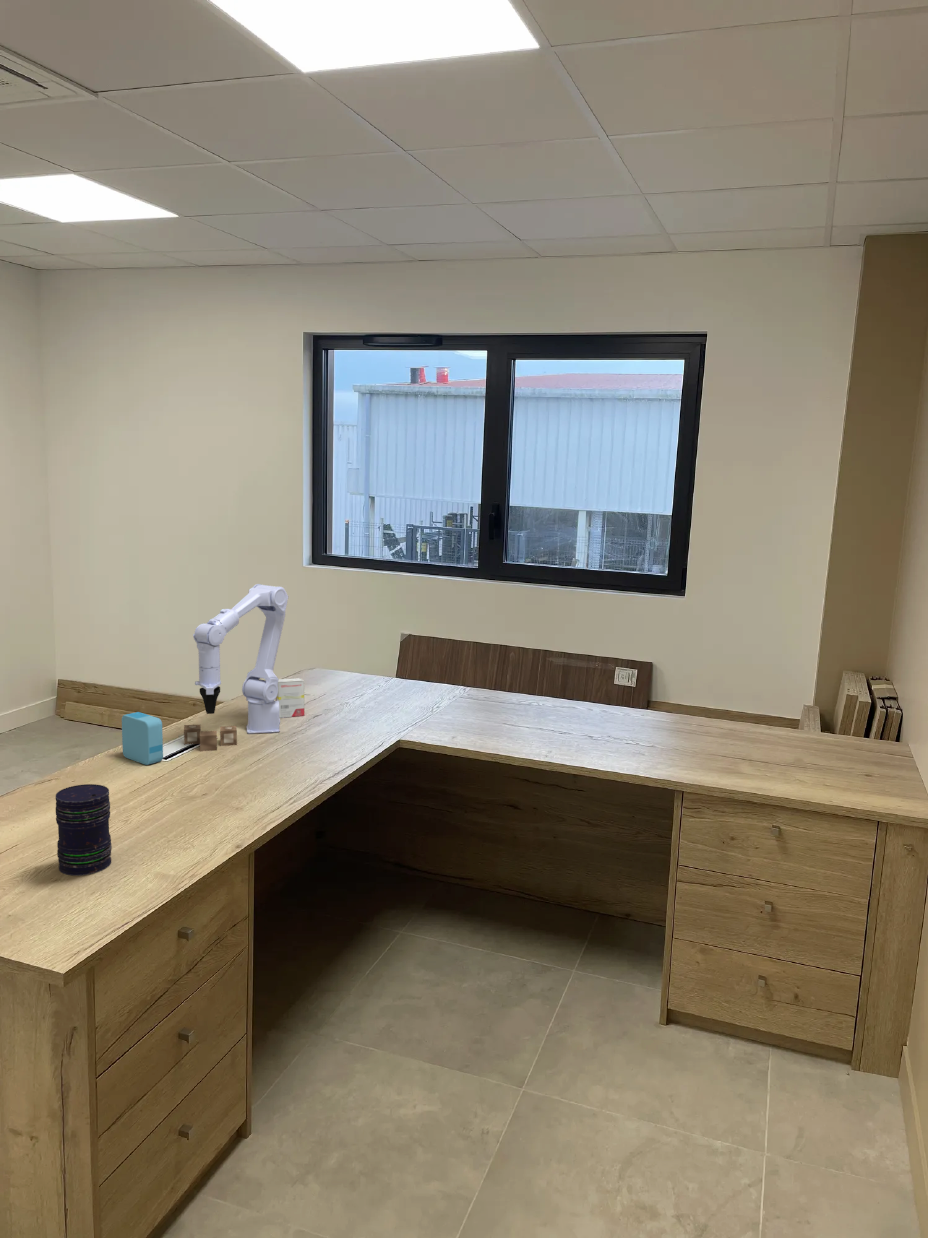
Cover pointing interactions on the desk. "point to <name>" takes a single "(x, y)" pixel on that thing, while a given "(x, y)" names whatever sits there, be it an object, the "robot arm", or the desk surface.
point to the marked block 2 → (228, 735)
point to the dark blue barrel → (83, 829)
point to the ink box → (290, 697)
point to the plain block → (208, 740)
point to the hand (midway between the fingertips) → (210, 713)
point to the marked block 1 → (192, 734)
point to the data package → (142, 738)
